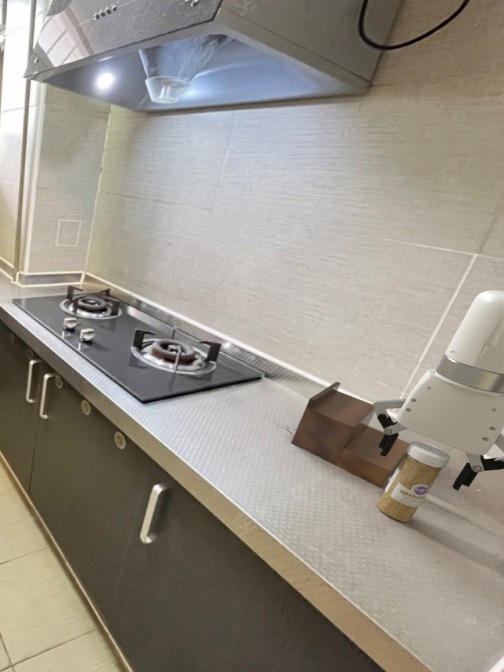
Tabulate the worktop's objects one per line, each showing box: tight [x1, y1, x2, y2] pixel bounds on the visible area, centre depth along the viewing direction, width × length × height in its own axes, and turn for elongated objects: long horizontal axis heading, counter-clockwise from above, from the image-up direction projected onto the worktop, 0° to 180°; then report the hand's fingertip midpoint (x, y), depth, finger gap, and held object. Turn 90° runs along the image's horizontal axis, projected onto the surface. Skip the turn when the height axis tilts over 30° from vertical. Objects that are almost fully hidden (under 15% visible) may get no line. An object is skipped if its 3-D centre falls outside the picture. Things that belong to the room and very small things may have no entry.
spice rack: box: [290, 381, 411, 489], centre depth 81 cm, size 15×16×11 cm
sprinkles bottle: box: [376, 440, 451, 523], centre depth 65 cm, size 5×5×14 cm
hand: (418, 468), depth 64 cm, fingers open, 8 cm apart
